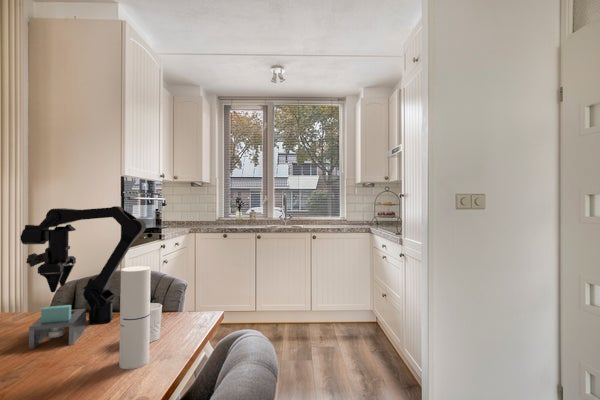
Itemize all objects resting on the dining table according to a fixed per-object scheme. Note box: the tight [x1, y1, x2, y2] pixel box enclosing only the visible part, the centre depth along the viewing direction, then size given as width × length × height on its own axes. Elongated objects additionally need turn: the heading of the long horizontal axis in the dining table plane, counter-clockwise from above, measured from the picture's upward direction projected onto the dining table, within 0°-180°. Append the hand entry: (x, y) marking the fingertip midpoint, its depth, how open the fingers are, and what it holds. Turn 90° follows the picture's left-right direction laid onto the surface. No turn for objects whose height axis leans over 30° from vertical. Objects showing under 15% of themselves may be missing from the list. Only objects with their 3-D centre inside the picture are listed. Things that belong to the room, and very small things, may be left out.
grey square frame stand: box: [28, 308, 87, 350], centre depth 105 cm, size 14×11×6 cm
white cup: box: [149, 302, 163, 343], centre depth 106 cm, size 8×8×10 cm
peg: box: [40, 304, 72, 339], centre depth 103 cm, size 7×4×8 cm, turn 110°
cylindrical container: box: [118, 265, 152, 370], centre depth 90 cm, size 7×7×25 cm
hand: (57, 288), depth 118 cm, fingers open, 9 cm apart
